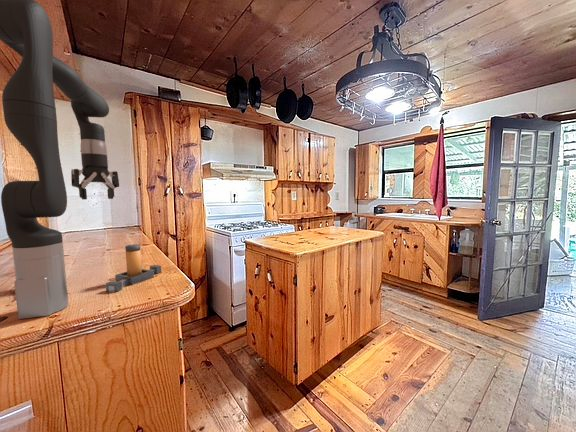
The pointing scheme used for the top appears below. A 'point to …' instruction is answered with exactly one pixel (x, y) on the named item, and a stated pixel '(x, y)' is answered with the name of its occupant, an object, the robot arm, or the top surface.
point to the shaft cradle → (131, 278)
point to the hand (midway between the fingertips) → (98, 199)
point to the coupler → (133, 260)
